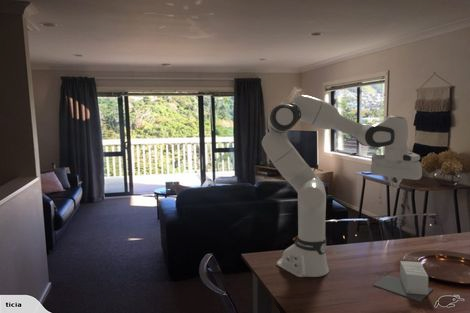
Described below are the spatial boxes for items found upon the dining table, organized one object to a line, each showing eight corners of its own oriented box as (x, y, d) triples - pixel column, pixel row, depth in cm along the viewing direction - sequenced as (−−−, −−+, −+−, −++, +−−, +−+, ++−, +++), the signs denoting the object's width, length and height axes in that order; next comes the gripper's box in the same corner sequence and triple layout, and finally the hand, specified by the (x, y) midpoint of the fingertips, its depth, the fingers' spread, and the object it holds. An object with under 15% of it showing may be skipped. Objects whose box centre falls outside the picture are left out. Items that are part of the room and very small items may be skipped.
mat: (373, 285, 138) (373, 284, 138) (387, 275, 146) (387, 274, 146) (420, 302, 126) (420, 300, 126) (432, 289, 134) (432, 288, 134)
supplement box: (420, 279, 141) (428, 296, 129) (399, 277, 143) (405, 293, 131) (420, 261, 140) (429, 276, 128) (400, 260, 142) (406, 274, 130)
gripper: (368, 154, 155) (367, 185, 157) (418, 157, 140) (416, 192, 142) (375, 152, 160) (374, 183, 161) (424, 156, 145) (422, 189, 146)
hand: (394, 187), depth 151 cm, fingers closed
